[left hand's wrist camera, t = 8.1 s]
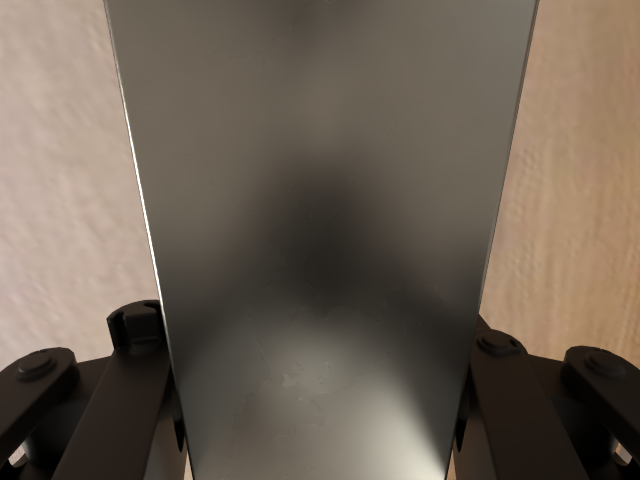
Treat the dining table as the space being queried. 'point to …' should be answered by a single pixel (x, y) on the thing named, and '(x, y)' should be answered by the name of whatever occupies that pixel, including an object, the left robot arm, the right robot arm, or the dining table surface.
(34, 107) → the dining table surface
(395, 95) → the bar
